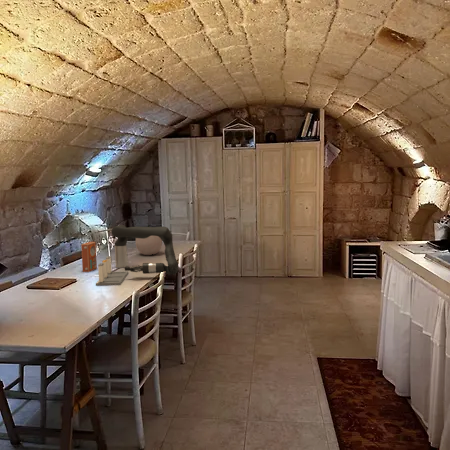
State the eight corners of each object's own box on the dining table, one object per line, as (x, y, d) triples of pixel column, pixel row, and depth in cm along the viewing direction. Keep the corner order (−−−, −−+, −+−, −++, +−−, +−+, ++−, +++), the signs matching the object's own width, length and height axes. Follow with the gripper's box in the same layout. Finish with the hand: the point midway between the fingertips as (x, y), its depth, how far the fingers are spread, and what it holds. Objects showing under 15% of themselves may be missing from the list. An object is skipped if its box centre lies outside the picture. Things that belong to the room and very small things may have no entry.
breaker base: (95, 285, 284) (94, 265, 282) (106, 273, 319) (105, 255, 317) (120, 285, 285) (119, 264, 283) (128, 273, 320) (127, 255, 318)
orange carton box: (98, 268, 338) (88, 272, 324) (90, 268, 340) (80, 272, 325) (97, 241, 336) (87, 244, 321) (89, 241, 337) (79, 244, 323)
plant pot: (163, 256, 386) (162, 223, 383) (136, 257, 381) (135, 224, 378) (161, 251, 409) (160, 220, 406) (135, 253, 404) (134, 221, 401)
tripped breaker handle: (102, 277, 299) (102, 261, 297) (104, 276, 304) (103, 259, 302) (106, 277, 299) (105, 261, 297) (108, 275, 304) (107, 259, 303)
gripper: (148, 275, 296) (123, 276, 295) (150, 271, 309) (126, 272, 308) (148, 264, 295) (123, 265, 294) (150, 261, 308) (126, 261, 307)
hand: (124, 268), depth 301 cm, fingers closed
